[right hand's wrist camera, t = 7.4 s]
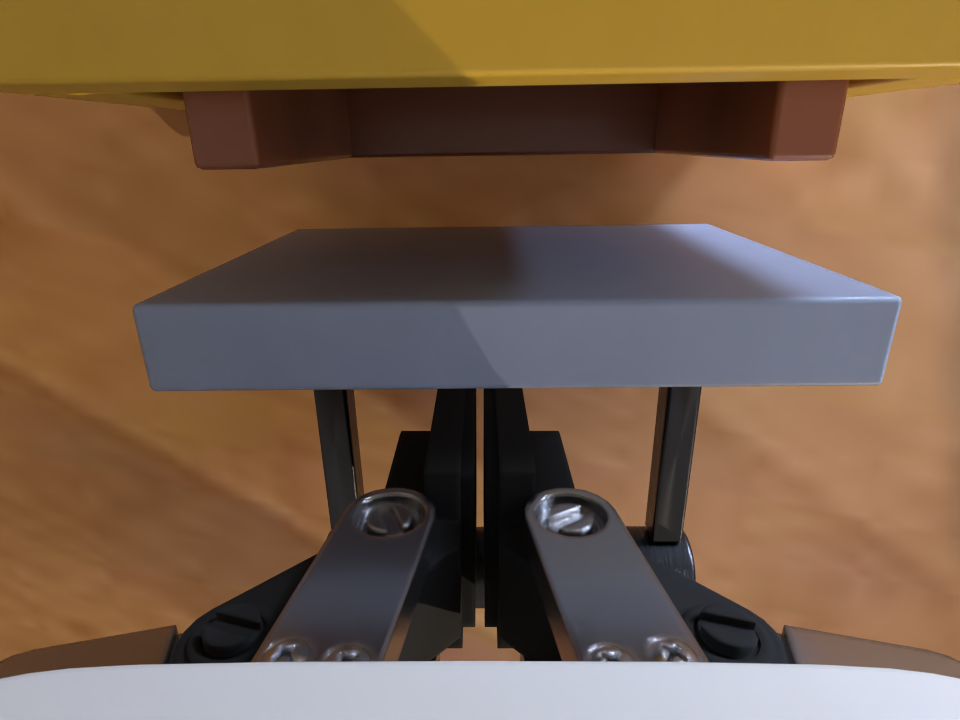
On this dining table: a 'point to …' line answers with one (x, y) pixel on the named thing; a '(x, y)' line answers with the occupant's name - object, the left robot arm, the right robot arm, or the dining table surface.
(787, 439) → the dining table surface
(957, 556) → the dining table surface
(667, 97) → the drawer
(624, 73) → the yellow box orange base
